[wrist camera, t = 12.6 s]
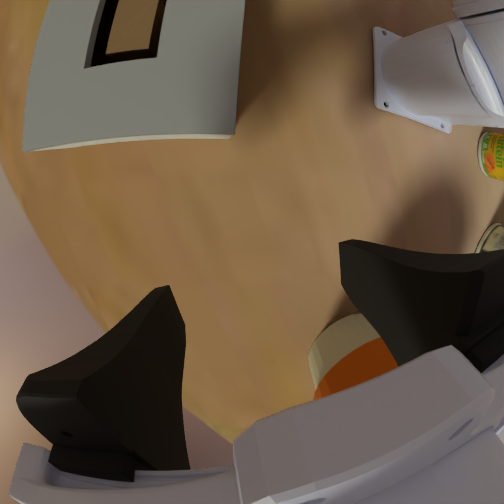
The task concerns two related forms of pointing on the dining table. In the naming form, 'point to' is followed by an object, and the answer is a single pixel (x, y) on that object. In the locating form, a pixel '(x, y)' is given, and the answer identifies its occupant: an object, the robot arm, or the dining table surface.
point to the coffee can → (492, 239)
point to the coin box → (134, 78)
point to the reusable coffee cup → (348, 356)
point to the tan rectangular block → (135, 30)
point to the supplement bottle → (492, 155)
